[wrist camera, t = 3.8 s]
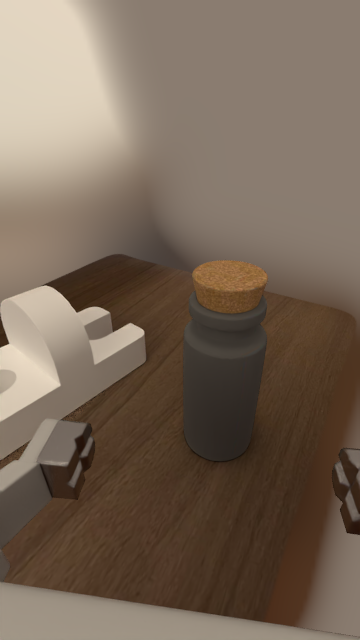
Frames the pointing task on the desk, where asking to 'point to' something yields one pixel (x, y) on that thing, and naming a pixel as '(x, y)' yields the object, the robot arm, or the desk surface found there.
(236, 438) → the bottle
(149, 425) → the desk surface
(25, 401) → the white slotted bracket
